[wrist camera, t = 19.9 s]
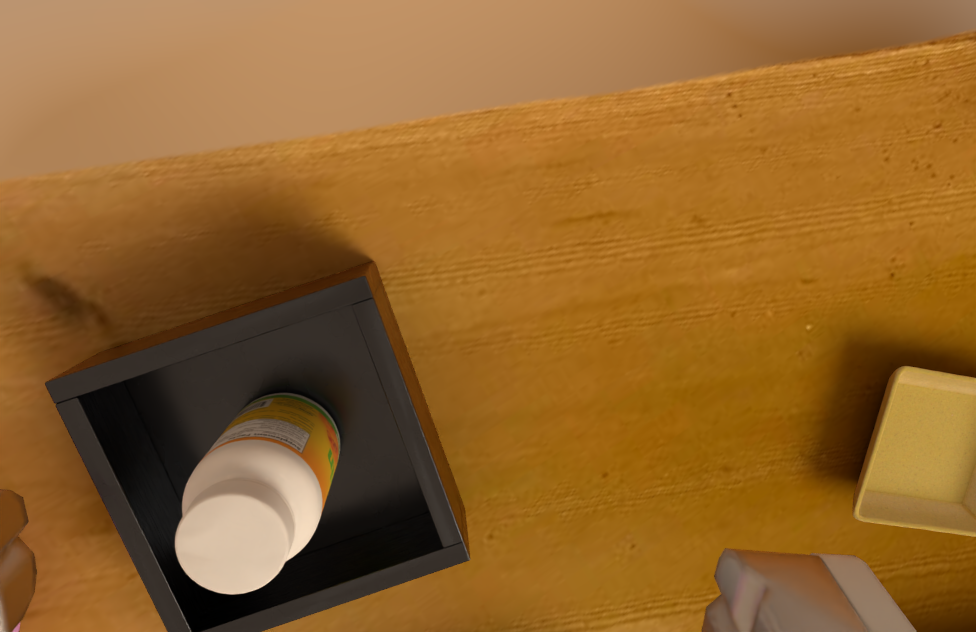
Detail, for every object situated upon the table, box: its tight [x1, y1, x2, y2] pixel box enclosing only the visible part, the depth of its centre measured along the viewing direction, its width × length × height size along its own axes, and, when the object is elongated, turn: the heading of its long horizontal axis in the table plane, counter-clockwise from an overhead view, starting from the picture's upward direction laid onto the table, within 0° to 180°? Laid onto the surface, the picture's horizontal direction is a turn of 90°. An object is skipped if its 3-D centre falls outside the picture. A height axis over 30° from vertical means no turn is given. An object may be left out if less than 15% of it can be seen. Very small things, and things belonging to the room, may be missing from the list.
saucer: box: [853, 366, 976, 537], centre depth 37 cm, size 9×9×2 cm
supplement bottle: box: [175, 393, 340, 594], centre depth 29 cm, size 5×5×10 cm
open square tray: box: [45, 261, 470, 632], centre depth 33 cm, size 14×14×5 cm
